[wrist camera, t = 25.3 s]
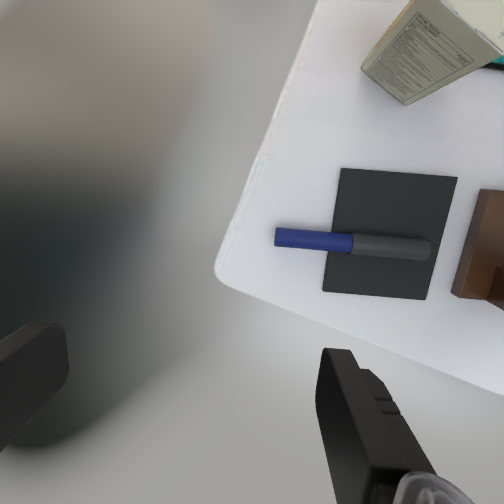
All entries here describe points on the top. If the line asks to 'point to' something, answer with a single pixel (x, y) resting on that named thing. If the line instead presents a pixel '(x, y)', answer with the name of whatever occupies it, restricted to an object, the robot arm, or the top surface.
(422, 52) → the cosmetic box
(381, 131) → the top surface
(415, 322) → the top surface
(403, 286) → the mat
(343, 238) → the marker
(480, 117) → the top surface
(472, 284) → the wooden headphone stand
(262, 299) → the top surface
